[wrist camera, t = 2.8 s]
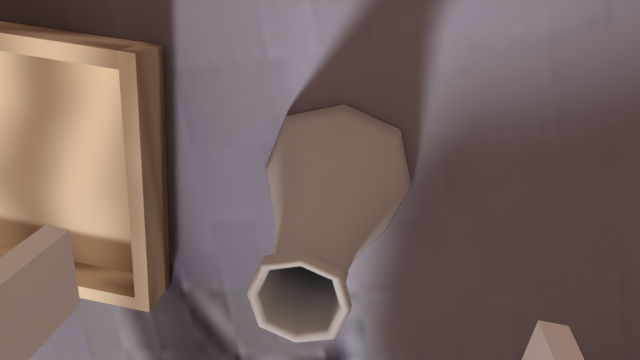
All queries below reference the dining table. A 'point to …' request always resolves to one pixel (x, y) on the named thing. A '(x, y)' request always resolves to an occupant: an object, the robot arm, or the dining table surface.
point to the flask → (325, 216)
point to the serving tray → (87, 156)
